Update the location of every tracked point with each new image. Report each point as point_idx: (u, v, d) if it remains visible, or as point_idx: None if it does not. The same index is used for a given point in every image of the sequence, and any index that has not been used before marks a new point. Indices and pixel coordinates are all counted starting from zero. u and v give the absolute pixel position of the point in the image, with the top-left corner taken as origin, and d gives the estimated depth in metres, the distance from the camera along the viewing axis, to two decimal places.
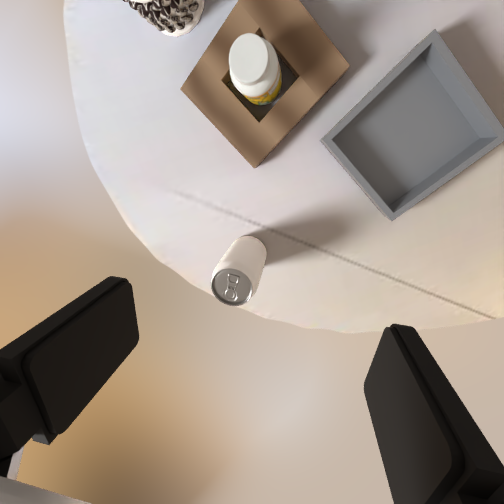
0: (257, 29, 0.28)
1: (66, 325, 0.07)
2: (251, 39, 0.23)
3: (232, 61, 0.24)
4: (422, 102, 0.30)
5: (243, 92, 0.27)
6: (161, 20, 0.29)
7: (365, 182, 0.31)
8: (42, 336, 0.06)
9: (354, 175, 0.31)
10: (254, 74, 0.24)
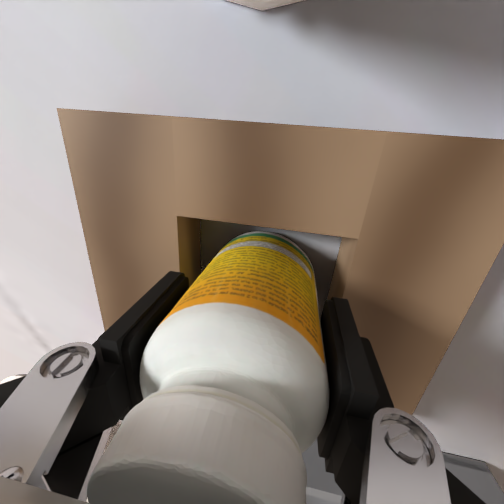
0: (349, 235, 0.09)
1: (148, 313, 0.07)
2: None
3: (115, 484, 0.04)
4: None
5: None
6: None
7: None
8: (134, 323, 0.07)
9: None
10: None
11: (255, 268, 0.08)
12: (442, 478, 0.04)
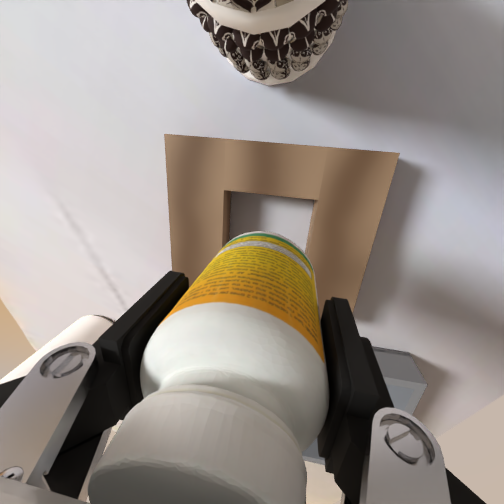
0: (314, 198, 0.17)
1: (148, 313, 0.07)
2: None
3: (116, 482, 0.04)
4: None
5: None
6: None
7: None
8: (134, 322, 0.07)
9: None
10: None
11: (255, 268, 0.08)
12: (442, 478, 0.04)
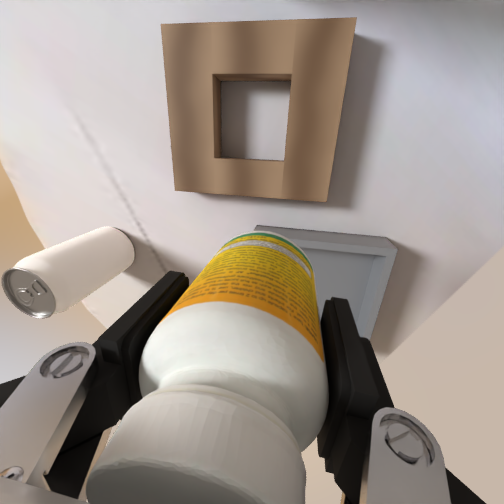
0: (288, 73, 0.20)
1: (148, 313, 0.07)
2: None
3: (114, 482, 0.04)
4: (346, 279, 0.29)
5: None
6: None
7: None
8: (134, 323, 0.07)
9: None
10: None
11: (255, 268, 0.08)
12: (442, 478, 0.04)
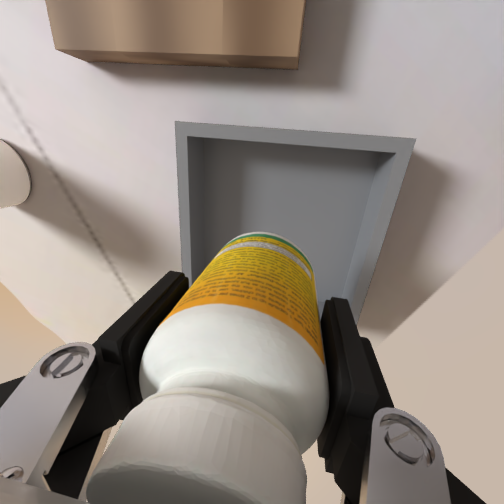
0: None
1: (148, 313, 0.07)
2: None
3: (115, 485, 0.04)
4: (330, 213, 0.19)
5: None
6: None
7: (187, 237, 0.19)
8: (134, 323, 0.07)
9: (181, 215, 0.18)
10: None
11: (255, 269, 0.08)
12: (442, 478, 0.04)
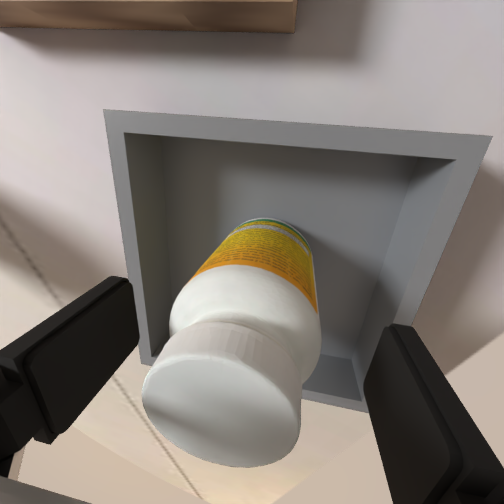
0: None
1: (67, 325, 0.07)
2: (272, 409, 0.05)
3: (165, 378, 0.06)
4: (341, 243, 0.13)
5: None
6: None
7: (138, 278, 0.13)
8: (44, 336, 0.06)
9: (126, 248, 0.12)
10: (198, 447, 0.06)
11: (261, 243, 0.09)
12: None
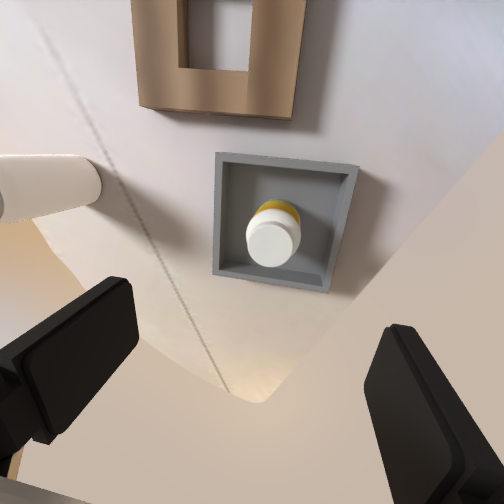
0: None
1: (66, 325, 0.07)
2: (285, 240, 0.20)
3: (256, 233, 0.21)
4: (312, 211, 0.28)
5: (247, 242, 0.24)
6: None
7: (218, 226, 0.28)
8: (42, 336, 0.06)
9: (215, 211, 0.27)
10: (262, 260, 0.21)
11: (278, 205, 0.25)
12: None
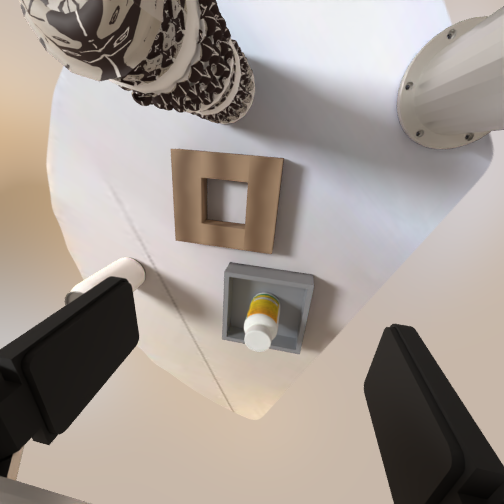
0: (246, 181, 0.34)
1: (66, 325, 0.07)
2: (266, 339, 0.35)
3: (249, 334, 0.35)
4: (289, 300, 0.43)
5: None
6: None
7: (226, 311, 0.42)
8: (42, 336, 0.06)
9: (224, 303, 0.42)
10: (253, 348, 0.36)
11: (264, 306, 0.39)
12: None
